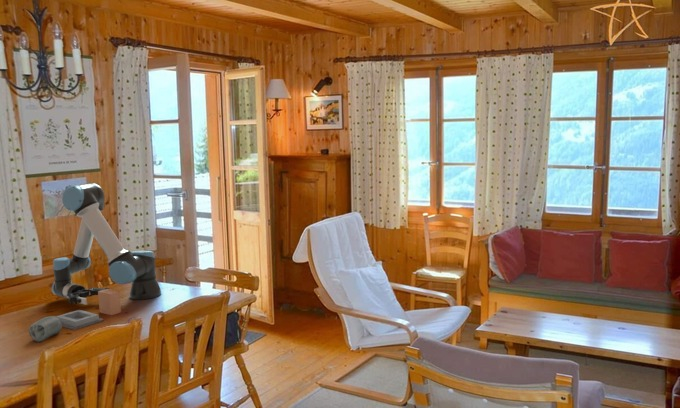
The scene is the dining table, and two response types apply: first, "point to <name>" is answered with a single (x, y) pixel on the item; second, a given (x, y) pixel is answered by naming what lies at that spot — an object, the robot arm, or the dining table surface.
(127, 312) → the dining table surface
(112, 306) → the key block
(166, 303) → the dining table surface
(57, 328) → the grey faceted cylinder
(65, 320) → the base
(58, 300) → the dining table surface
